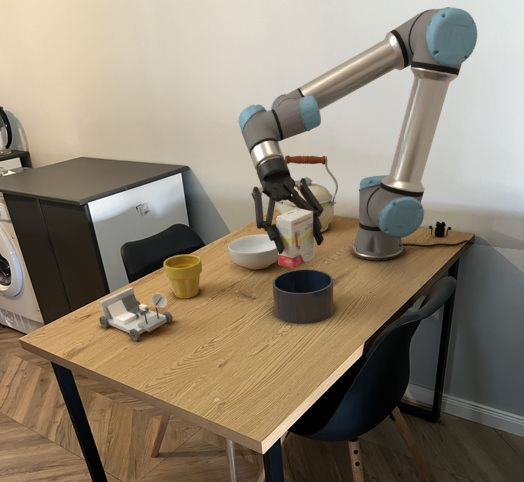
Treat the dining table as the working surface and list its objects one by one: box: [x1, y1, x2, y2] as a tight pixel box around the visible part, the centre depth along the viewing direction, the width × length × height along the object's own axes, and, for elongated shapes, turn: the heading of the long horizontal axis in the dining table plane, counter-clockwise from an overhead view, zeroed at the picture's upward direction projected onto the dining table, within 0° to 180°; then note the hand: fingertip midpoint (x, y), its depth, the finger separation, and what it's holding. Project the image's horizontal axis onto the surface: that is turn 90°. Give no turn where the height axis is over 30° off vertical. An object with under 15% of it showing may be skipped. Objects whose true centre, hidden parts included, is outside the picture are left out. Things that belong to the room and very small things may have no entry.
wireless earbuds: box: [428, 221, 452, 238], centre depth 177 cm, size 7×2×5 cm, turn 65°
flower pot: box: [163, 254, 203, 299], centre depth 152 cm, size 10×10×10 cm
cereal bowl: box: [227, 233, 278, 270], centre depth 167 cm, size 17×17×7 cm
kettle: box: [275, 154, 339, 233], centre depth 189 cm, size 25×18×25 cm
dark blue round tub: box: [271, 268, 334, 324], centre depth 139 cm, size 15×15×8 cm
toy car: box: [98, 286, 174, 342], centre depth 137 cm, size 18×10×12 cm
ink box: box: [275, 208, 315, 269], centre depth 131 cm, size 9×5×12 cm, turn 139°
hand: (301, 247), depth 129 cm, fingers closed on ink box, 9 cm apart
